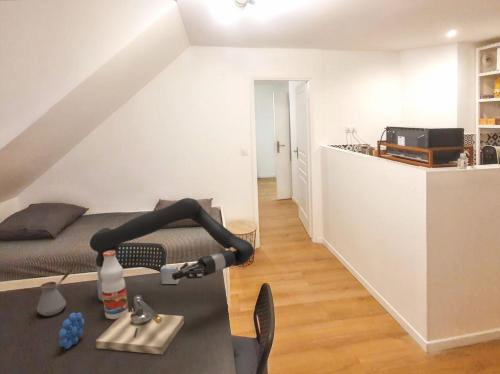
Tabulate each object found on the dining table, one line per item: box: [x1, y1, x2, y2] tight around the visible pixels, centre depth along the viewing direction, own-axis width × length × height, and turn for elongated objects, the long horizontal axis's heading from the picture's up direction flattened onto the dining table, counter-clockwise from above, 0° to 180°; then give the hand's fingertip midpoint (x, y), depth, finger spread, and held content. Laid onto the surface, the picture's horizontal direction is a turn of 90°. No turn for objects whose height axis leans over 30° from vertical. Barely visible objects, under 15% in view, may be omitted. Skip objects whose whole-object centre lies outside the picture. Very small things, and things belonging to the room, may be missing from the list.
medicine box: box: [160, 264, 180, 285], centre depth 181 cm, size 8×4×9 cm, turn 84°
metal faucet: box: [130, 294, 162, 325], centre depth 136 cm, size 23×8×9 cm, turn 38°
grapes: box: [58, 312, 85, 350], centre depth 134 cm, size 12×7×12 cm, turn 161°
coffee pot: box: [36, 266, 76, 317], centre depth 163 cm, size 21×12×15 cm, turn 162°
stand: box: [95, 311, 185, 355], centre depth 138 cm, size 26×20×3 cm
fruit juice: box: [100, 250, 129, 320], centre depth 152 cm, size 9×9×28 cm
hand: (173, 277), depth 137 cm, fingers closed
